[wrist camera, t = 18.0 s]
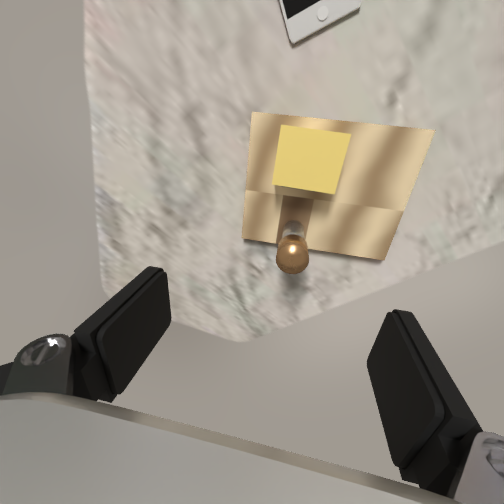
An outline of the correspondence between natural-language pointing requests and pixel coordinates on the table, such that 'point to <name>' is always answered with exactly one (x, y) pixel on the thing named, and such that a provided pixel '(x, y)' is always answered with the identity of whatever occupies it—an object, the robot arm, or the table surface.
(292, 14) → the smartphone
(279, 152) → the yellow rectangular block
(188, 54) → the table surface
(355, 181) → the subfloor panel
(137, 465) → the robot arm
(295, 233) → the two-tone metal cylinder
